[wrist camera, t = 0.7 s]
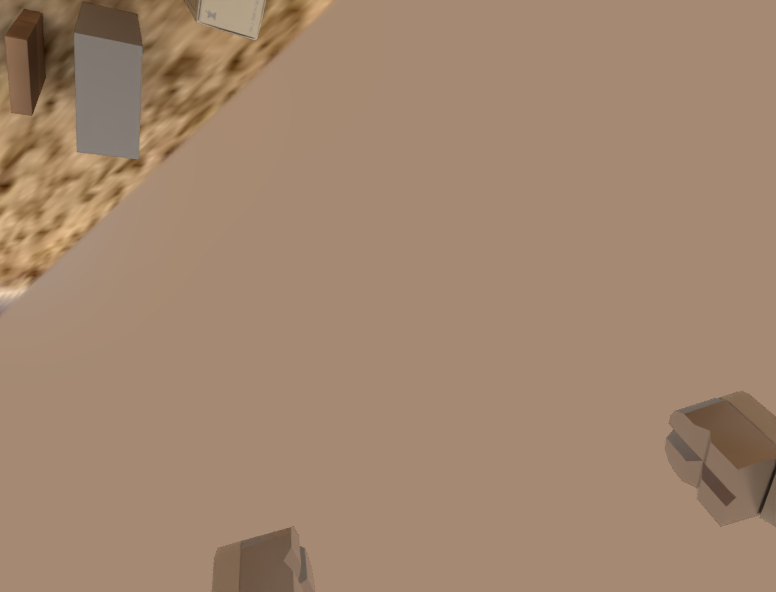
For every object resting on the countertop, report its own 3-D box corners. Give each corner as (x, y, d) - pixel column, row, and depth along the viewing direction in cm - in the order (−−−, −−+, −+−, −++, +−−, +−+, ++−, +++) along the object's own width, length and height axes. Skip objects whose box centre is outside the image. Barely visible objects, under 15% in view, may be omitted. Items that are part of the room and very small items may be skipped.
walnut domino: (28, 74, 44) (11, 113, 37) (24, 9, 42) (4, 36, 34) (45, 77, 45) (32, 115, 37) (42, 13, 42) (26, 40, 35)
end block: (82, 1, 43) (73, 32, 34) (137, 14, 44) (142, 46, 36) (84, 101, 47) (77, 152, 38) (134, 109, 48) (138, 159, 40)
